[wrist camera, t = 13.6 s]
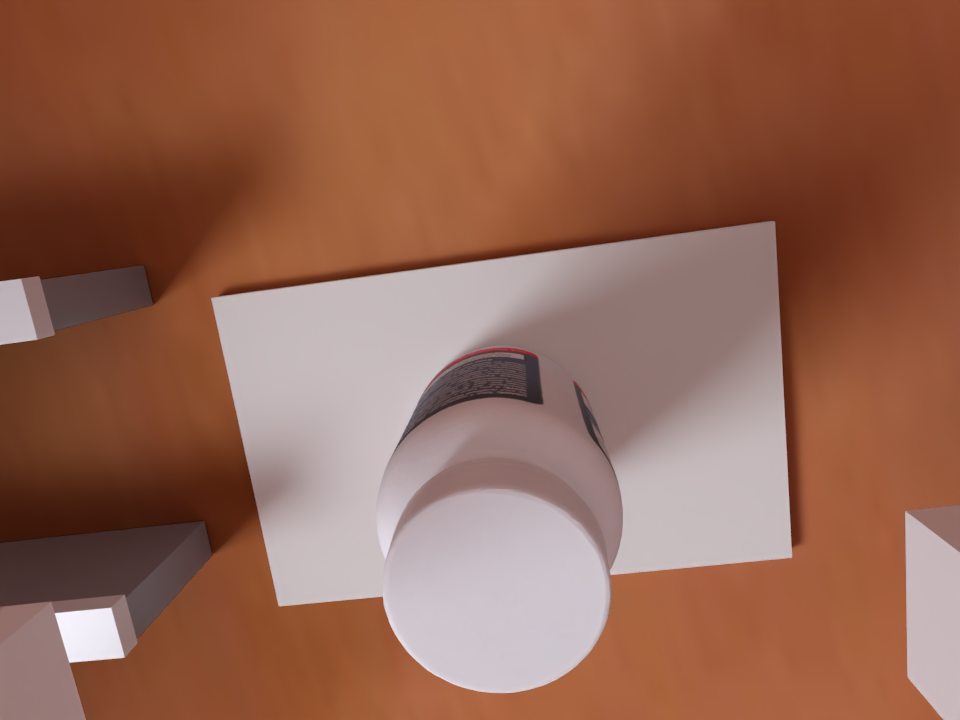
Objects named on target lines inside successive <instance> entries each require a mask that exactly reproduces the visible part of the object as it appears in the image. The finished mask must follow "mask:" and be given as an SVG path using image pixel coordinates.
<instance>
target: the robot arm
mask: <svg viewBox="0 0 960 720" xmlns="http://www.w3.org/2000/svg"><path fill="white" fill-rule="evenodd" d="M905 527H906V600H907V673H908V678H909V680H910V681H911V682H912V683H913V684H914V685H915V687H916V688H917V689H918V690H919V691H920V693H921V694H922V695H923V696H924V697H925V698H926V700H927V701H928V702H929V703H930V704H931V705H932V707H933V708H934V709H935V710H936V711H937V713H938V714H939V715H940V716H941V717H942V718H943V720H960V505H956V506H947V507H937V508H928V509H919V510H909V511H905ZM0 720H86V718H85V715H84V711H83V708H82V705H81V701H80V698H79V694H78V691H77V687H76V684H75V681H74V677H73V674H72V670H71V667H70V664H69V660H68V657H67V653H66V650H65V647H64V643H63V640H62V636H61V633H60V630H59V626H58V623H57V619H56V616H55V612H54V609H53V606H52V602H42V603H32V604H23V605H13V606H6V607H4V608H3V609H2V610H1V611H0Z"/></svg>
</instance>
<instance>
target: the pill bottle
mask: <svg viewBox="0 0 960 720" xmlns="http://www.w3.org/2000/svg"><path fill="white" fill-rule="evenodd" d="M376 526H377V533H378V538H379V543H380V547H381V550H382V552H383V555H384V558H385V566H384V571H383V580H382V586H383V600H384V607H385V610H386V614H387V617H388V619H389V622H390V625H391V627H392V629H393V631H394V633H395V635H396V636H397V638H398V639H399V641H400V642H401V644H402V645H403V647H404V648H405V649H406V650H407V652H408V653H409V654H410V655H411V656H412V657H413V658H414V659H415V660H416V661H417V662H418V663H420V664H421V665H422V666H423V667H424V668H426V669H427V670H428V671H429V672H431V673H433V674H434V675H435V676H438V677H440V678H442V679H444V680H446V681H448V682H450V683H452V684H454V685H457V686H460V687H463V688H467V689H471V690H475V691H480V692H489V693H512V692H519V691H524V690H529V689H533V688H536V687H540V686H543V685H546V684H548V683H550V682H552V681H554V680H556V679H558V678H560V677H561V676H563V675H565V674H566V673H568V672H569V671H570V670H572V669H573V668H574V667H576V666H577V665H578V664H579V663H580V662H581V661H582V660H583V659H584V658H585V657H586V656H587V655H588V654H589V652H590V651H591V650H592V648H593V647H594V645H595V644H596V642H597V641H598V639H599V637H600V635H601V633H602V631H603V629H604V626H605V624H606V621H607V618H608V615H609V609H610V603H611V576H610V570H611V568H612V566H613V564H614V561H615V559H616V556H617V554H618V550H619V546H620V542H621V537H622V528H623V506H622V499H621V493H620V488H619V484H618V480H617V477H616V474H615V471H614V469H613V466H612V463H611V460H610V457H609V454H608V452H607V449H606V447H605V444H604V441H603V438H602V436H601V433H600V429H599V427H598V425H597V422H596V419H595V417H594V414H593V411H592V408H591V406H590V404H589V401H588V399H587V398H586V396H585V394H584V392H583V391H582V389H581V388H580V386H579V385H578V383H577V382H576V381H575V380H574V378H573V377H572V376H571V375H570V374H569V373H568V372H567V371H566V370H565V369H564V368H562V367H561V366H560V365H559V364H557V363H556V362H554V361H553V360H551V359H549V358H547V357H545V356H543V355H541V354H539V353H537V352H534V351H531V350H528V349H525V348H520V347H514V346H490V347H485V348H480V349H477V350H473V351H471V352H468V353H466V354H464V355H462V356H460V357H458V358H456V359H455V360H453V361H451V362H450V363H449V364H447V365H446V366H445V367H443V368H442V369H441V370H440V371H439V372H438V373H437V374H436V375H435V377H434V378H433V379H432V380H431V381H430V383H429V384H428V386H427V387H426V389H425V390H424V392H423V394H422V395H421V397H420V399H419V401H418V404H417V406H416V408H415V410H414V412H413V414H412V416H411V418H410V420H409V423H408V424H407V426H406V428H405V430H404V432H403V434H402V436H401V438H400V440H399V443H398V444H397V446H396V448H395V450H394V452H393V455H392V456H391V458H390V460H389V462H388V465H387V467H386V469H385V472H384V475H383V478H382V481H381V485H380V489H379V493H378V498H377V506H376Z"/></svg>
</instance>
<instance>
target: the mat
mask: <svg viewBox="0 0 960 720" xmlns="http://www.w3.org/2000/svg"><path fill="white" fill-rule="evenodd" d="M211 299H212V304H213V308H214V313H215V318H216V322H217V327H218V331H219V336H220V340H221V345H222V350H223V354H224V359H225V363H226V368H227V372H228V377H229V381H230V386H231V391H232V395H233V400H234V404H235V409H236V413H237V418H238V423H239V427H240V432H241V436H242V441H243V445H244V450H245V454H246V459H247V464H248V468H249V473H250V477H251V482H252V486H253V491H254V496H255V500H256V505H257V509H258V514H259V518H260V523H261V527H262V532H263V537H264V541H265V546H266V550H267V555H268V559H269V564H270V568H271V573H272V578H273V582H274V587H275V591H276V596H277V600H278V605H279V606H288V605H298V604H309V603H319V602H330V601H341V600H351V599H362V598H372V597H383V586H382V580H383V571H384V566H385V558H384V555H383V552H382V550H381V547H380V543H379V538H378V533H377V526H376V506H377V498H378V493H379V489H380V485H381V481H382V478H383V475H384V472H385V469H386V467H387V465H388V462H389V460H390V458H391V456H392V455H393V452H394V450H395V448H396V446H397V444H398V443H399V440H400V438H401V436H402V434H403V432H404V430H405V428H406V426H407V424H408V423H409V420H410V418H411V416H412V414H413V412H414V410H415V408H416V406H417V404H418V401H419V399H420V397H421V395H422V394H423V392H424V390H425V389H426V387H427V386H428V384H429V383H430V381H431V380H432V379H433V378H434V377H435V375H436V374H437V373H438V372H439V371H440V370H441V369H442V368H443V367H445V366H446V365H447V364H449V363H450V362H451V361H453V360H455V359H456V358H458V357H460V356H462V355H464V354H466V353H468V352H471V351H473V350H477V349H480V348H485V347H490V346H514V347H520V348H525V349H528V350H531V351H534V352H537V353H539V354H541V355H543V356H545V357H547V358H549V359H551V360H553V361H554V362H556V363H557V364H559V365H560V366H561V367H562V368H564V369H565V370H566V371H567V372H568V373H569V374H570V375H571V376H572V377H573V378H574V380H575V381H576V382H577V383H578V385H579V386H580V388H581V389H582V391H583V392H584V394H585V396H586V398H587V399H588V401H589V404H590V406H591V408H592V411H593V414H594V417H595V419H596V422H597V425H598V427H599V429H600V433H601V436H602V438H603V441H604V444H605V447H606V449H607V452H608V454H609V457H610V460H611V463H612V466H613V469H614V471H615V474H616V477H617V480H618V484H619V488H620V493H621V499H622V506H623V528H622V537H621V542H620V546H619V550H618V554H617V556H616V559H615V561H614V564H613V566H612V568H611V570H610V575H615V574H625V573H636V572H646V571H657V570H667V569H678V568H689V567H699V566H710V565H720V564H731V563H741V562H752V561H762V560H773V559H783V558H792V546H791V526H790V506H789V487H788V467H787V447H786V427H785V407H784V387H783V368H782V348H781V328H780V308H779V288H778V268H777V249H776V229H775V221H767V222H760V223H752V224H745V225H738V226H730V227H723V228H716V229H708V230H701V231H694V232H686V233H679V234H672V235H664V236H657V237H650V238H642V239H635V240H628V241H620V242H613V243H606V244H598V245H591V246H584V247H576V248H569V249H561V250H554V251H547V252H539V253H532V254H525V255H517V256H510V257H503V258H495V259H488V260H481V261H473V262H466V263H459V264H451V265H444V266H437V267H429V268H422V269H415V270H407V271H400V272H393V273H385V274H378V275H371V276H363V277H356V278H349V279H341V280H334V281H327V282H319V283H312V284H305V285H297V286H290V287H282V288H275V289H268V290H260V291H253V292H246V293H238V294H231V295H224V296H217V297H213V298H211Z"/></svg>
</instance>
